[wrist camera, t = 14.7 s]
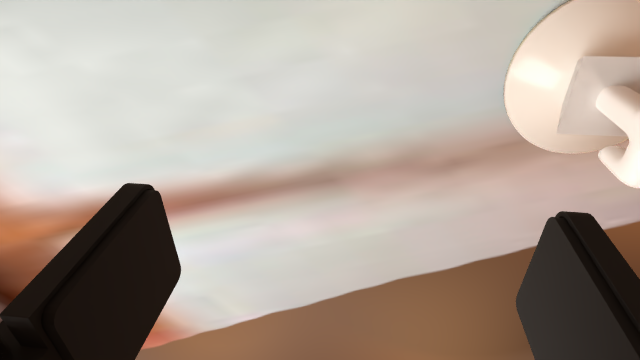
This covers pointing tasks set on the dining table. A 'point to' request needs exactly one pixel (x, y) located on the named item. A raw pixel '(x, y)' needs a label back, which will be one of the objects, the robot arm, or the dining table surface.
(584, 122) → the figurine
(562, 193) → the dining table surface
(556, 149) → the plate
